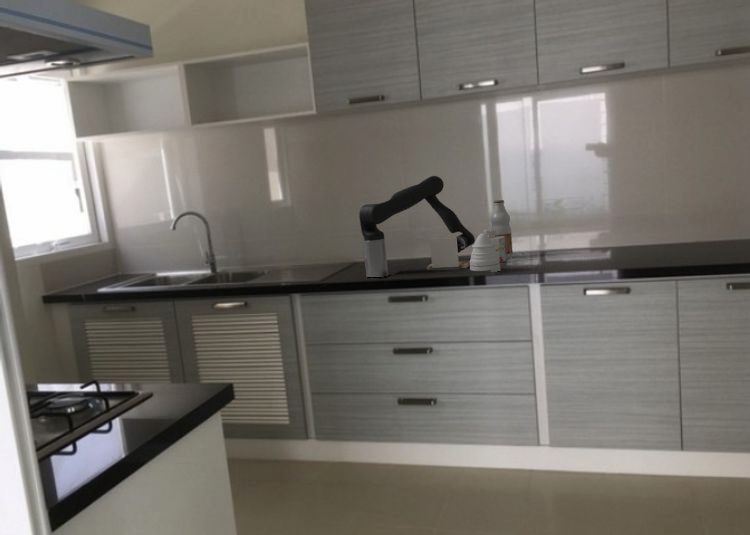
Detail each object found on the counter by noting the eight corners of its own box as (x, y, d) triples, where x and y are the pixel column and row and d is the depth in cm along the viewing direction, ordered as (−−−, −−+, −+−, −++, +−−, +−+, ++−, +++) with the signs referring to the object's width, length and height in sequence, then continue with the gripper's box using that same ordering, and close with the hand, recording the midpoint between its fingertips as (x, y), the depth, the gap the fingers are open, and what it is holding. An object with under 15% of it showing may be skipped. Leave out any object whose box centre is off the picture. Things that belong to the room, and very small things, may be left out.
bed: (427, 272, 294) (426, 266, 294) (434, 268, 305) (433, 262, 304) (466, 271, 288) (465, 264, 287) (471, 267, 298) (471, 260, 297)
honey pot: (500, 268, 287) (497, 227, 284) (499, 273, 274) (496, 230, 272) (471, 270, 290) (468, 230, 287) (469, 275, 277) (465, 233, 275)
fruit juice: (499, 260, 310) (495, 201, 306) (489, 258, 319) (485, 201, 315) (516, 257, 313) (512, 199, 309) (506, 256, 322) (502, 199, 318)
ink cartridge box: (500, 263, 300) (498, 231, 298) (490, 263, 303) (487, 232, 301) (506, 260, 307) (504, 229, 305) (496, 260, 310) (494, 230, 308)
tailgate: (432, 271, 292) (429, 239, 289) (433, 271, 293) (430, 238, 291) (458, 270, 287) (455, 237, 285) (459, 270, 288) (456, 237, 286)
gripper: (441, 238, 311) (431, 242, 295) (468, 236, 306) (460, 241, 290) (443, 253, 312) (433, 259, 296) (470, 252, 307) (461, 257, 291)
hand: (446, 250), depth 293 cm, fingers closed
